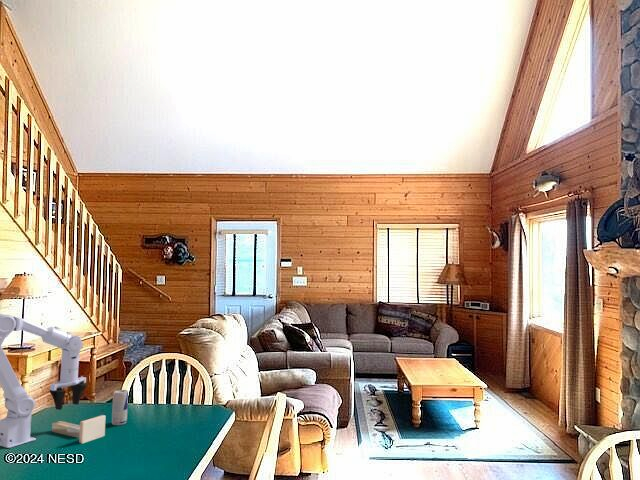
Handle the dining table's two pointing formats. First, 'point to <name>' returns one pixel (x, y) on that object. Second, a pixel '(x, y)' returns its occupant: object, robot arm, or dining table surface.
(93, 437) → the tile
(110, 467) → the dining table surface
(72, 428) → the grey and tan bar
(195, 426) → the dining table surface
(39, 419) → the dining table surface
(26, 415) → the robot arm
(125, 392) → the energy drink
